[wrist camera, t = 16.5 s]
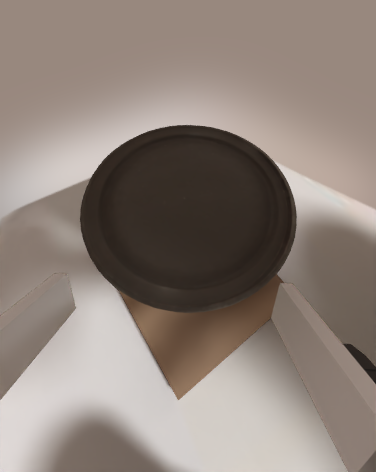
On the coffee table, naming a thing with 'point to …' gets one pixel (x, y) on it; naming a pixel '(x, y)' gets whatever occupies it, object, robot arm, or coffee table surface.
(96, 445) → the coffee table surface
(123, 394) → the coffee table surface
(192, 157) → the coffee can
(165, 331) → the walnut board
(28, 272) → the coffee table surface
